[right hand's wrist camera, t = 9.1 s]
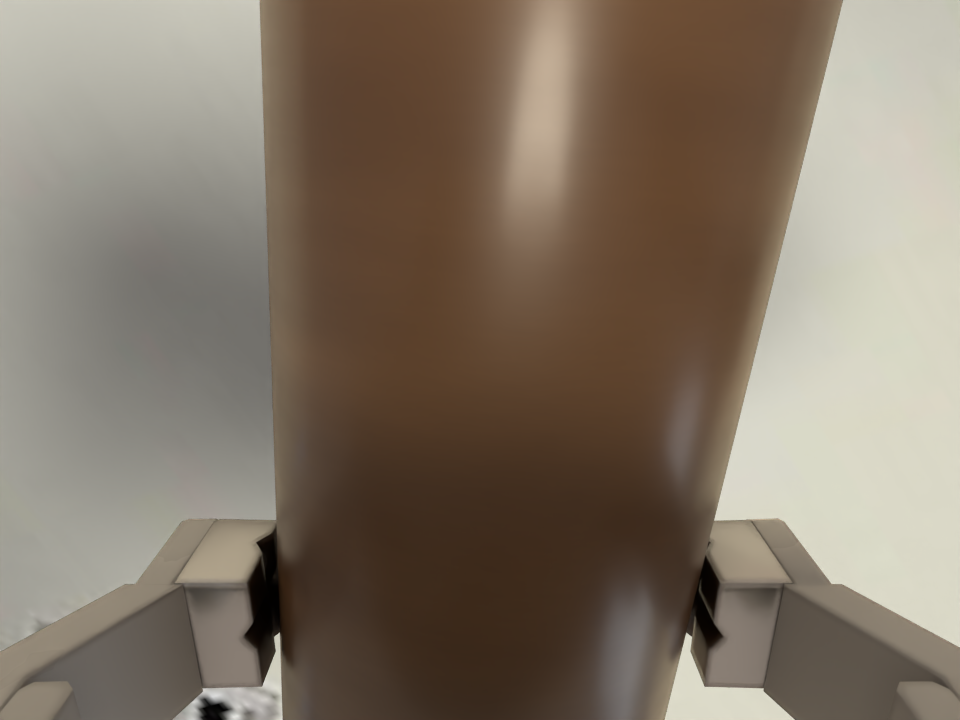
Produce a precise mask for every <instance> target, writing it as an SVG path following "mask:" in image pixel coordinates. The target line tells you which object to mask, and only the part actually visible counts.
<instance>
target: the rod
mask: <svg viewBox="0 0 960 720" xmlns="http://www.w3.org/2000/svg"><path fill="white" fill-rule="evenodd" d="M842 3H843V0H260V24H261V55H262V86H263V117H264V149H265V180H266V211H267V242H268V274H269V305H270V336H271V367H272V399H273V430H274V461H275V492H276V524H277V555H278V586H279V617H280V649H281V680H282V711H283V720H665V716H666V712H667V708H668V703H669V699H670V695H671V691H672V687H673V683H674V679H675V675H676V671H677V667H678V663H679V659H680V655H681V651H682V647H683V643H684V639H685V635H686V631H687V627H688V623H689V619H690V615H691V611H692V607H693V603H694V599H695V595H696V591H697V587H698V583H699V579H700V575H701V571H702V567H703V563H704V558H705V554H706V550H707V546H708V542H709V538H710V534H711V530H712V526H713V522H714V518H715V514H716V510H717V506H718V502H719V498H720V494H721V490H722V486H723V482H724V478H725V474H726V470H727V466H728V462H729V458H730V454H731V450H732V446H733V442H734V438H735V434H736V430H737V426H738V422H739V417H740V413H741V409H742V405H743V401H744V397H745V393H746V389H747V385H748V381H749V377H750V373H751V369H752V365H753V361H754V357H755V353H756V349H757V345H758V341H759V337H760V333H761V329H762V325H763V321H764V317H765V313H766V309H767V305H768V301H769V297H770V293H771V289H772V285H773V281H774V277H775V272H776V268H777V264H778V260H779V256H780V252H781V248H782V244H783V240H784V236H785V232H786V228H787V224H788V220H789V216H790V212H791V208H792V204H793V200H794V196H795V192H796V188H797V184H798V180H799V176H800V172H801V168H802V164H803V160H804V156H805V152H806V148H807V144H808V140H809V136H810V132H811V127H812V123H813V119H814V115H815V111H816V107H817V103H818V99H819V95H820V91H821V87H822V83H823V79H824V75H825V71H826V67H827V63H828V59H829V55H830V51H831V47H832V43H833V39H834V35H835V31H836V27H837V23H838V19H839V15H840V11H841V7H842Z"/></svg>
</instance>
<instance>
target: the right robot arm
mask: <svg viewBox="0 0 960 720" xmlns="http://www.w3.org/2000/svg"><path fill="white" fill-rule="evenodd" d="M279 632H280V617H279V586H278V555H277V524H276V520H242V519H220V520H218V519H188V520H185V521H182V522H181V523H180V524H179V526H178V527H177V528H176V530H175V531H174V533H173V534H172V535H171V537H170V538H169V539H168V541H167V542H166V543H165V545H164V546H163V547H162V549H161V550H160V551H159V553H158V554H157V555H156V557H155V558H154V560H153V561H152V562H151V564H150V565H149V566H148V568H147V569H146V570H145V572H144V573H143V574H142V576H141V577H140V578H139V580H138V581H137V582H136V584H125V585H123V586H121V587H119V588H117V589H116V590H114V591H112V592H110V593H108V594H106V595H104V596H103V597H101V598H99V599H97V600H95V601H93V602H91V603H90V604H88V605H86V606H84V607H82V608H80V609H79V610H77V611H75V612H73V613H71V614H69V615H67V616H66V617H64V618H62V619H60V620H58V621H56V622H55V623H53V624H51V625H49V626H47V627H45V628H43V629H42V630H40V631H38V632H36V633H34V634H32V635H31V636H29V637H27V638H25V639H23V640H21V641H19V642H18V643H16V644H14V645H12V646H10V647H8V648H7V649H5V650H3V651H1V652H0V720H172V719H173V718H174V717H175V716H177V715H178V714H179V713H180V712H181V711H182V710H183V709H184V708H185V707H186V706H188V705H189V704H190V703H191V702H192V701H193V700H194V699H195V698H196V697H197V696H198V695H200V694H201V693H202V692H203V689H202V688H226V687H261V686H262V685H263V682H264V680H265V677H266V675H267V672H268V670H269V667H270V664H271V662H272V659H273V657H274V654H275V651H276V650H275V642H274V636H275V635H277V634H278V633H279ZM686 632H687V633H688V634H689V635H691V636H692V644H691V654H692V656H693V659H694V661H695V664H696V666H697V669H698V671H699V674H700V676H701V679H702V681H703V683H704V686H705V687H739V688H764V692H765V693H766V694H767V695H769V696H770V697H771V698H772V699H773V700H774V701H775V702H776V703H777V704H778V705H780V706H781V707H782V708H783V709H784V710H785V711H786V712H787V713H788V714H789V715H791V716H792V717H793V718H794V719H795V720H960V648H959V647H958V646H956V645H954V644H952V643H950V642H948V641H946V640H945V639H943V638H941V637H939V636H937V635H935V634H933V633H932V632H930V631H928V630H926V629H924V628H922V627H920V626H919V625H917V624H915V623H913V622H911V621H909V620H907V619H905V618H904V617H902V616H900V615H898V614H896V613H894V612H892V611H891V610H889V609H887V608H885V607H883V606H881V605H879V604H878V603H876V602H874V601H872V600H870V599H868V598H866V597H865V596H863V595H861V594H859V593H857V592H855V591H853V590H852V589H850V588H848V587H846V586H844V585H842V584H831V583H830V581H829V580H828V579H827V577H826V576H825V575H824V573H823V572H822V571H821V569H820V568H819V567H818V565H817V564H816V563H815V562H814V560H813V559H812V558H811V556H810V555H809V554H808V552H807V551H806V550H805V548H804V547H803V546H802V544H801V543H800V542H799V540H798V539H797V538H796V537H795V535H794V534H793V533H792V531H791V530H790V529H789V527H788V526H787V525H786V523H785V522H784V521H782V520H780V519H778V518H776V519H747V520H722V521H714V522H713V526H712V530H711V534H710V538H709V542H708V546H707V550H706V554H705V558H704V563H703V567H702V571H701V575H700V579H699V583H698V587H697V591H696V595H695V599H694V603H693V607H692V611H691V615H690V619H689V623H688V627H687V631H686Z"/></svg>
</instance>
